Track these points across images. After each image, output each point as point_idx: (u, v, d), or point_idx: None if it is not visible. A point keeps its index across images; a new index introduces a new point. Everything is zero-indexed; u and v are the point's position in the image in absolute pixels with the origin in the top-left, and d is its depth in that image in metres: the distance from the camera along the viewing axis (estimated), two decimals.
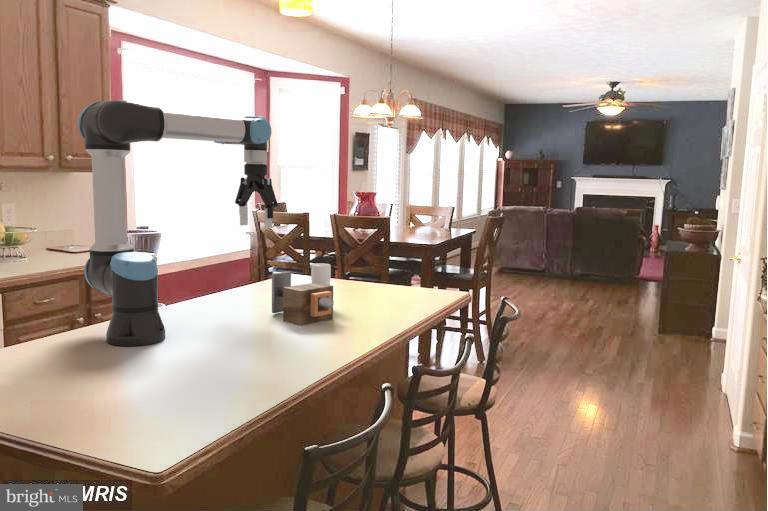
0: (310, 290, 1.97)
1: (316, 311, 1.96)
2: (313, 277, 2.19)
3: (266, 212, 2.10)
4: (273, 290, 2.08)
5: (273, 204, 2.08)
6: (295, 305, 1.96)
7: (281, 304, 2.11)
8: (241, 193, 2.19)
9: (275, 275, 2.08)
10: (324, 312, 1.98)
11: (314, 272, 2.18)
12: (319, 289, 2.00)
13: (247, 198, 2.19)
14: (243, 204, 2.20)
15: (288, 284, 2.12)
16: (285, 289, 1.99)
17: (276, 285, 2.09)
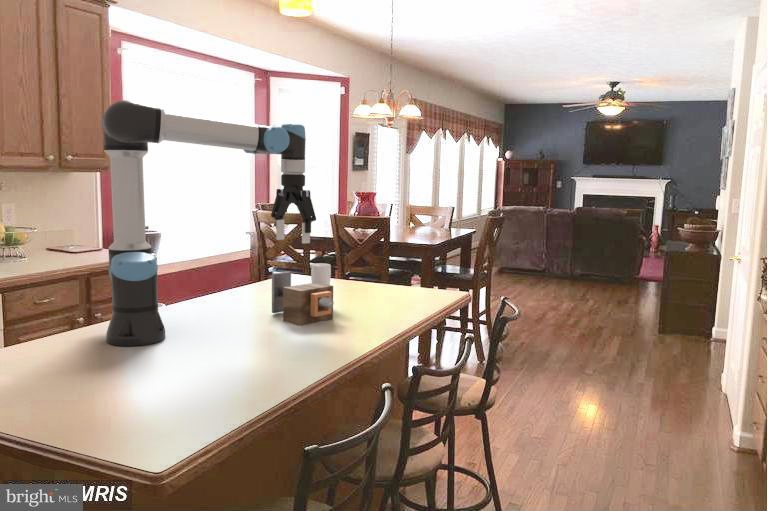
0: (310, 290, 1.97)
1: (316, 311, 1.96)
2: (313, 277, 2.19)
3: (304, 226, 1.99)
4: (273, 290, 2.08)
5: (311, 218, 1.97)
6: (295, 305, 1.96)
7: (281, 304, 2.11)
8: (277, 205, 2.08)
9: (275, 275, 2.08)
10: (324, 312, 1.98)
11: (314, 272, 2.18)
12: (319, 289, 2.00)
13: (284, 211, 2.07)
14: (280, 217, 2.09)
15: (288, 284, 2.12)
16: (285, 289, 1.99)
17: (276, 285, 2.09)
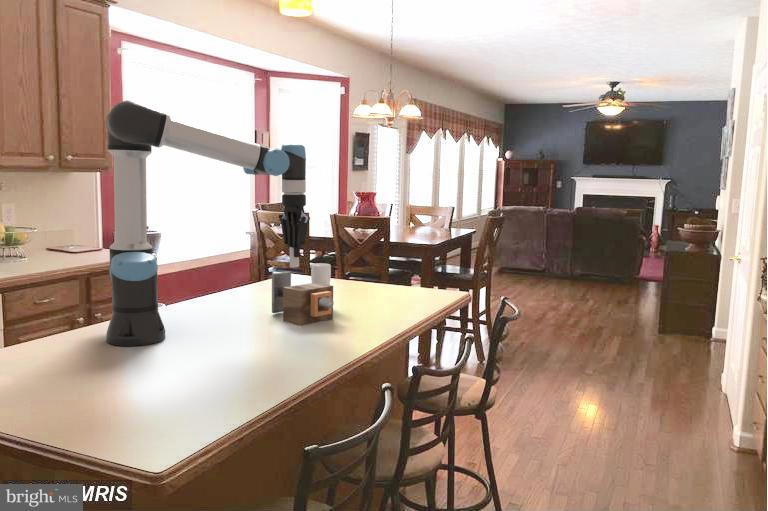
0: (310, 290, 1.97)
1: (316, 311, 1.96)
2: (313, 277, 2.19)
3: (293, 251, 2.04)
4: (273, 290, 2.08)
5: (300, 244, 2.02)
6: (295, 305, 1.96)
7: (281, 304, 2.11)
8: (286, 230, 2.06)
9: (275, 275, 2.08)
10: (324, 312, 1.98)
11: (314, 272, 2.18)
12: (319, 289, 2.00)
13: None
14: (293, 244, 2.06)
15: (288, 284, 2.12)
16: (285, 289, 1.99)
17: (276, 285, 2.09)
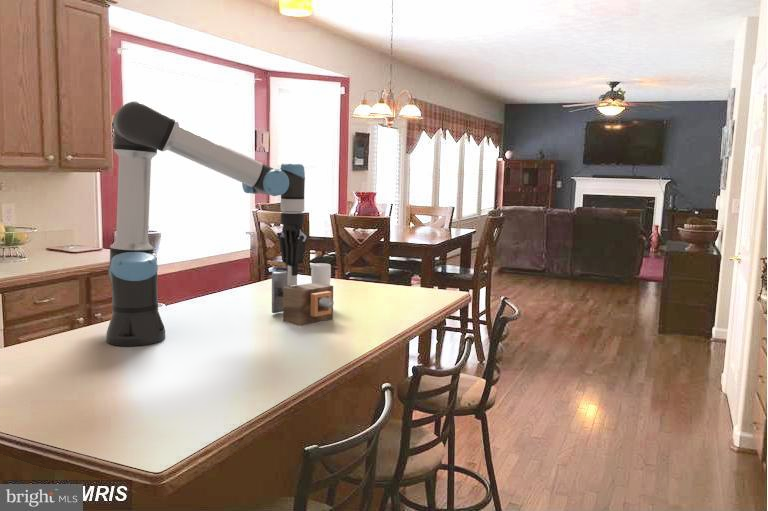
0: (310, 290, 1.97)
1: (316, 311, 1.96)
2: (313, 277, 2.19)
3: (291, 269, 2.05)
4: (273, 290, 2.08)
5: (298, 262, 2.03)
6: (295, 305, 1.96)
7: (281, 304, 2.11)
8: (284, 248, 2.07)
9: (275, 275, 2.08)
10: (324, 312, 1.98)
11: (314, 272, 2.18)
12: (319, 289, 2.00)
13: None
14: (291, 263, 2.07)
15: None
16: (285, 289, 1.99)
17: (276, 285, 2.09)
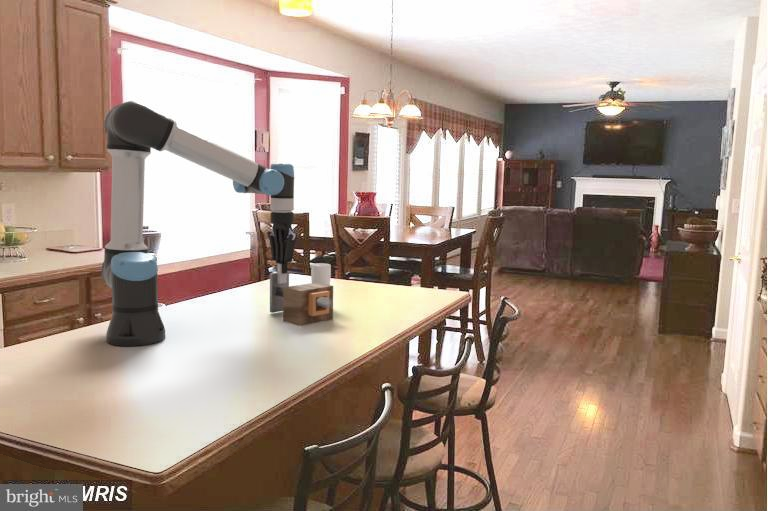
0: (310, 290, 1.97)
1: (314, 310, 1.96)
2: (313, 277, 2.19)
3: (280, 267, 2.09)
4: (271, 290, 2.09)
5: (287, 261, 2.07)
6: (295, 305, 1.96)
7: (279, 304, 2.12)
8: (274, 247, 2.11)
9: (273, 275, 2.09)
10: (322, 311, 1.99)
11: (314, 272, 2.18)
12: (319, 289, 2.00)
13: None
14: None
15: (286, 283, 2.13)
16: (285, 289, 1.99)
17: (274, 284, 2.09)
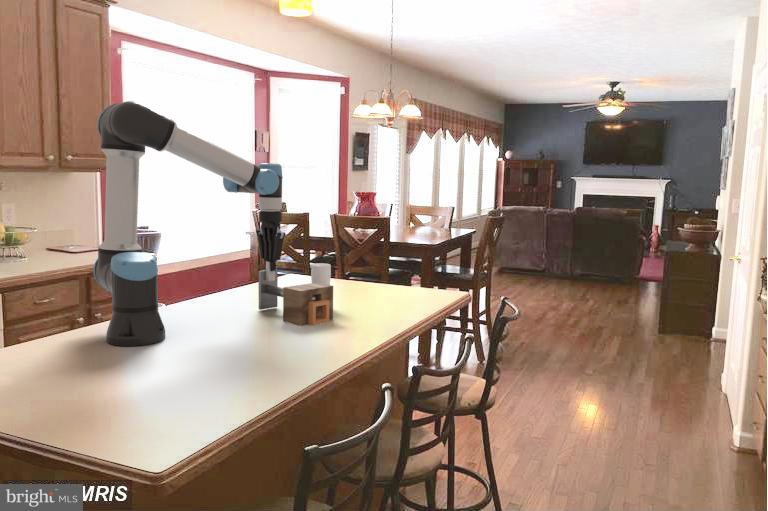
0: (310, 290, 1.97)
1: (314, 320, 1.97)
2: (313, 277, 2.19)
3: (269, 265, 2.13)
4: (260, 287, 2.13)
5: (276, 259, 2.11)
6: (295, 305, 1.96)
7: (268, 301, 2.16)
8: (263, 245, 2.15)
9: (262, 272, 2.13)
10: (322, 320, 1.99)
11: (314, 272, 2.18)
12: (319, 289, 2.00)
13: None
14: None
15: (275, 281, 2.17)
16: (285, 289, 1.99)
17: (263, 282, 2.13)
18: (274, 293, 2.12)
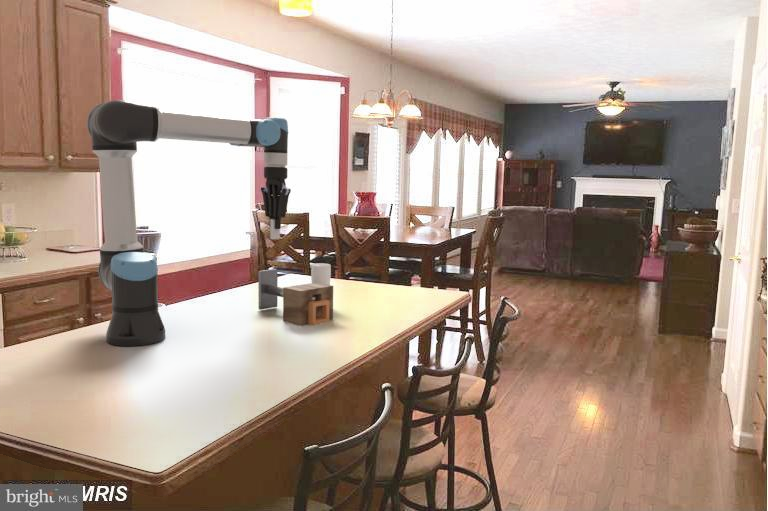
0: (310, 290, 1.97)
1: (314, 320, 1.97)
2: (313, 277, 2.19)
3: (273, 223, 2.08)
4: (260, 287, 2.13)
5: (281, 216, 2.06)
6: (295, 305, 1.96)
7: (268, 301, 2.16)
8: (267, 202, 2.10)
9: (262, 272, 2.13)
10: (322, 320, 1.99)
11: (314, 272, 2.18)
12: (319, 289, 2.00)
13: None
14: (274, 217, 2.09)
15: (274, 281, 2.17)
16: (285, 289, 1.99)
17: (263, 282, 2.13)
18: (274, 293, 2.12)
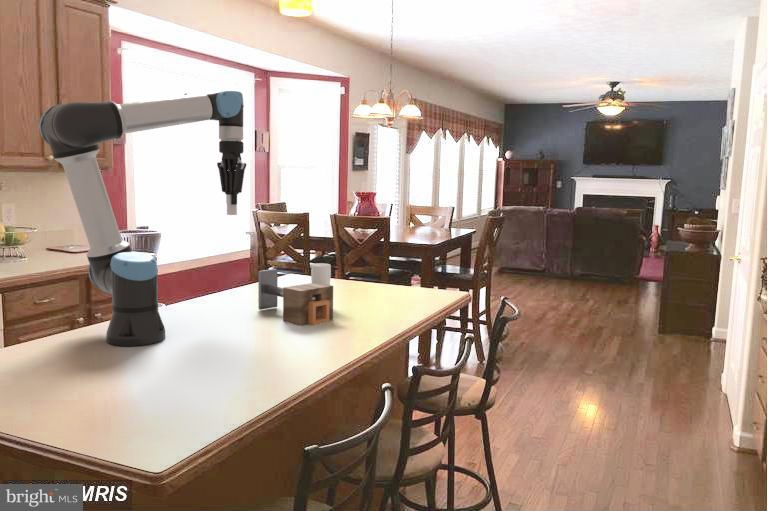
0: (310, 290, 1.97)
1: (314, 320, 1.97)
2: (313, 277, 2.19)
3: (230, 198, 2.04)
4: (260, 287, 2.13)
5: (237, 191, 2.02)
6: (295, 305, 1.96)
7: (268, 301, 2.16)
8: (224, 178, 2.06)
9: (262, 272, 2.13)
10: (322, 320, 1.99)
11: (314, 272, 2.18)
12: (319, 289, 2.00)
13: None
14: None
15: (274, 281, 2.17)
16: (285, 289, 1.99)
17: (263, 282, 2.13)
18: (274, 293, 2.12)
